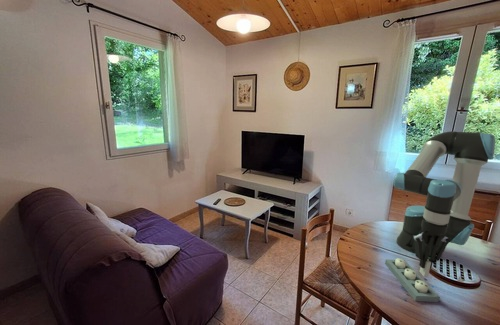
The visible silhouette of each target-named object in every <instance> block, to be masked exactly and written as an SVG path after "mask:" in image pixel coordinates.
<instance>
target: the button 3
mask: <svg viewBox="0 0 500 325" xmlns="http://www.w3.org/2000/svg"><path fill="white" fill-rule="evenodd" d="M425 282H426V281H425ZM425 282H423V281H421V280H416V282H415V287H414V288H415V289H416V290H417V291H418V293H427V291H428V285H429V283H427V282H426V283H425Z"/></svg>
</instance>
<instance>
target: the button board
mask: <svg viewBox="0 0 500 325" xmlns="http://www.w3.org/2000/svg"><path fill="white" fill-rule="evenodd" d="M395 260H396V259H387V258H386V259H385V262H384V265H385V266H386V267H387V268H388V270H390V272H391V274H393V276H394V277H395V278H396V279H397V281H398V282H399V283H400V284H401V285H402V287H403V288H404V290H406V291H407V293H408V294H409V295H410V296H411V298H412V299H413V300H414V301H415V302H430V303H431V302H433V303H439V302H440V298H441V296H440V295H439V294H438V293H437V292H436V291H435V290H434V289H433V288H432V287H431V286H430V285H429V284H428V291H427V293H418V291H417V290H416V289H415V288H414V287H415V282H416V280H421V281H423V282H425V283H427V282H426V281H425V280H424V278H422V277H421V276H420V274H419V273H418V272H417V271H416V270H415V269H414V268H413V267H412V266H411V265H410V264H409V263H408V262H407V261H406V260H405V259H403V260H404V261H406V267H405V269H407V268H408V269H412V270H414V271H415V272H416V273H417V274H416V279H415V280H407V279H406V278H405V276H404V272H405V269H398V268H397V267H396V266H395Z"/></svg>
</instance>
